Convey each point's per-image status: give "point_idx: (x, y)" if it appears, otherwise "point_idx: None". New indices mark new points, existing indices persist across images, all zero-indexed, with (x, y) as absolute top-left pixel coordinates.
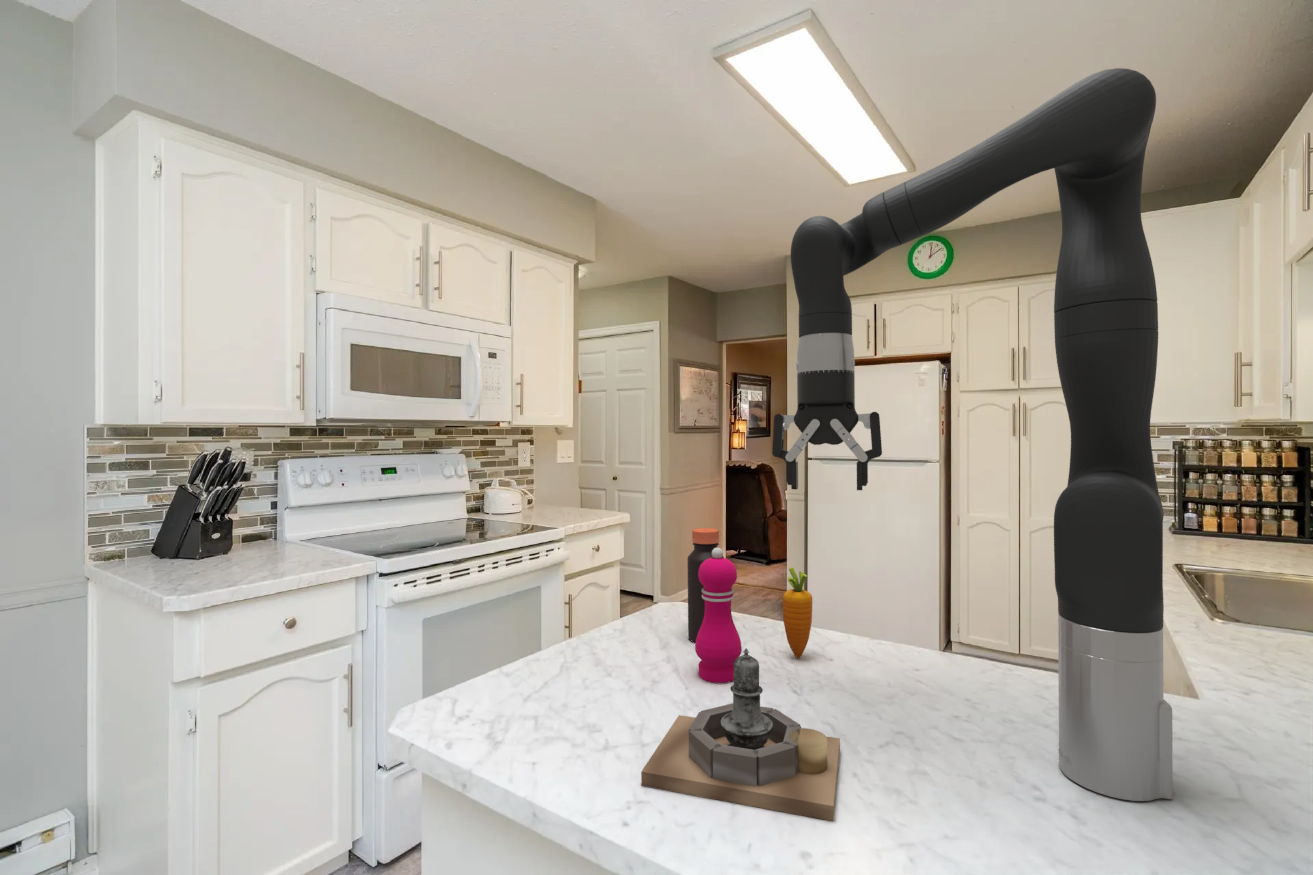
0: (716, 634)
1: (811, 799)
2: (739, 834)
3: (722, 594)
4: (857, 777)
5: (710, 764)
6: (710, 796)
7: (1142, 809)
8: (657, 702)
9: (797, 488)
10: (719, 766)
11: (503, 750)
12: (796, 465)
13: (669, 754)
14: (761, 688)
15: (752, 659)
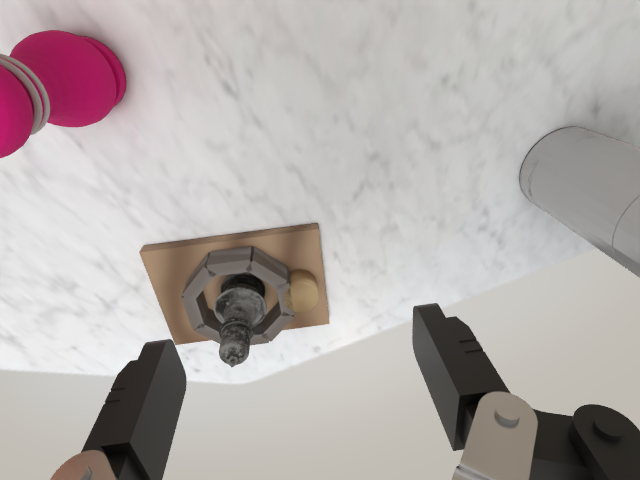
0: (68, 122)
1: (312, 323)
2: (271, 350)
3: (33, 131)
4: (338, 258)
5: None
6: None
7: None
8: (78, 203)
9: (176, 352)
10: None
11: (30, 345)
12: (158, 469)
13: (180, 317)
14: (251, 326)
15: (241, 358)
